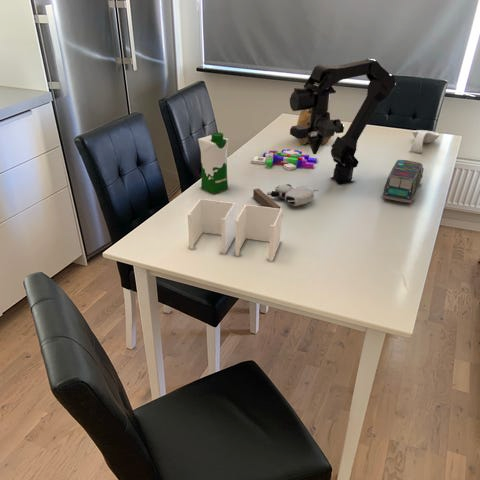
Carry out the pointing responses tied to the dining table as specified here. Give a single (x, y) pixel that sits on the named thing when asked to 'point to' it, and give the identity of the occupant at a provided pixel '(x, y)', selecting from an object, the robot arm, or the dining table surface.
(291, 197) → the robot toy
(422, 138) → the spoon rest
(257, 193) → the walnut kerb
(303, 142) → the rough brown rock
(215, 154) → the milk carton
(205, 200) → the storage bins
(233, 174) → the dining table surface
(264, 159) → the building block set
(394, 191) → the toy van
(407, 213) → the dining table surface
